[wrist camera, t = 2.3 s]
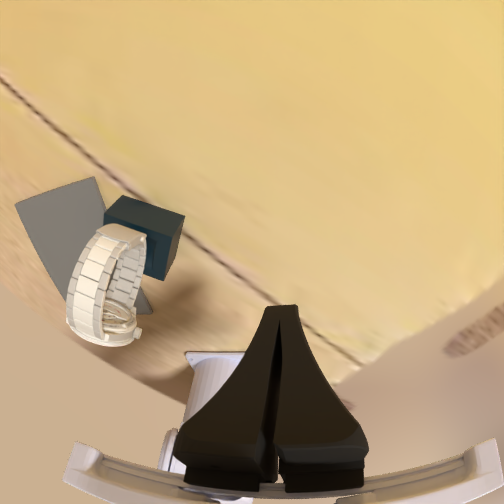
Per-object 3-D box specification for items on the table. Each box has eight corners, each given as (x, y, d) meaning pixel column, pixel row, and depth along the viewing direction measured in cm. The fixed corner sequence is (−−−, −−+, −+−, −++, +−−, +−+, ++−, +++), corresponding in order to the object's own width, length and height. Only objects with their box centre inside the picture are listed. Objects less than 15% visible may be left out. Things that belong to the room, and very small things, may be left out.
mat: (152, 311, 29) (151, 314, 29) (73, 309, 31) (72, 312, 31) (94, 176, 21) (91, 178, 21) (16, 202, 23) (14, 204, 23)
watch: (117, 254, 25) (57, 345, 16) (125, 175, 21) (35, 259, 12) (172, 274, 26) (127, 377, 17) (191, 196, 21) (129, 299, 12)
